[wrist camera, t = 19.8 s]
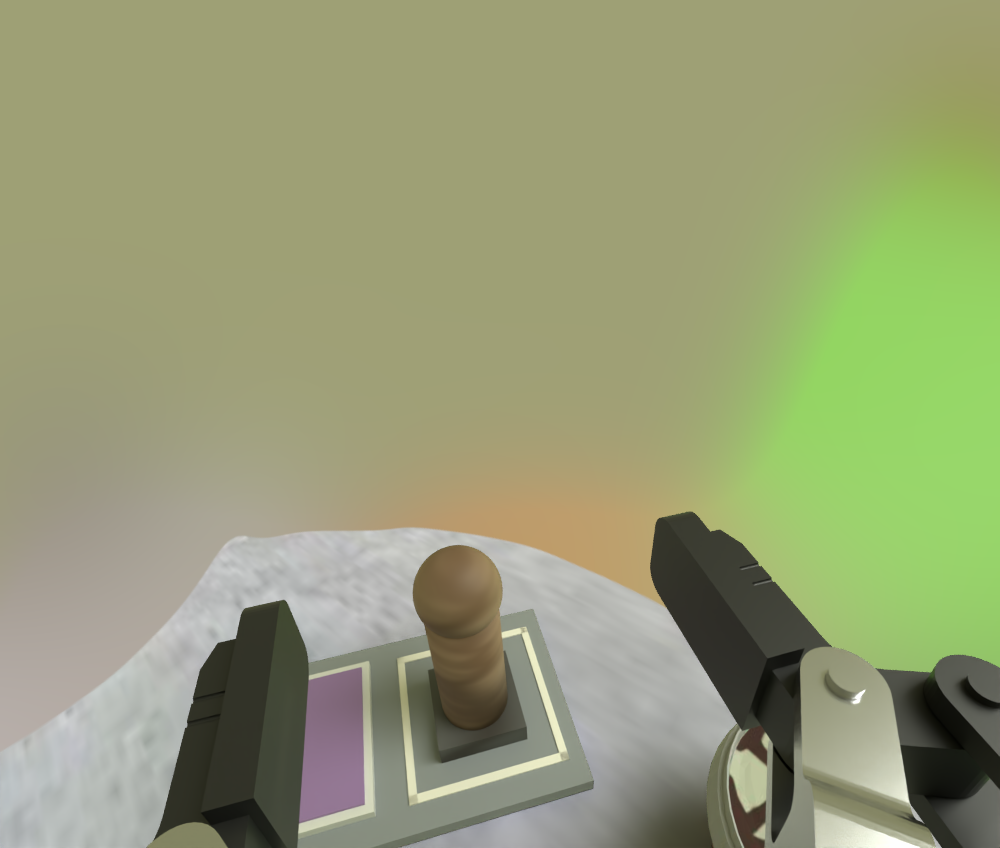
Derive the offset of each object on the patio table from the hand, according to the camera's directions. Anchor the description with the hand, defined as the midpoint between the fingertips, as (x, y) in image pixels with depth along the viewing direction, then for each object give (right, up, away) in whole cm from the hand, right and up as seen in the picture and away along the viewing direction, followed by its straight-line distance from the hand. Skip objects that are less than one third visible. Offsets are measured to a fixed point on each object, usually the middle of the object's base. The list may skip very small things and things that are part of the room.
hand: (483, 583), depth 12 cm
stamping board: (-7, -18, +25) cm, 31 cm away
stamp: (-1, -16, +25) cm, 30 cm away
